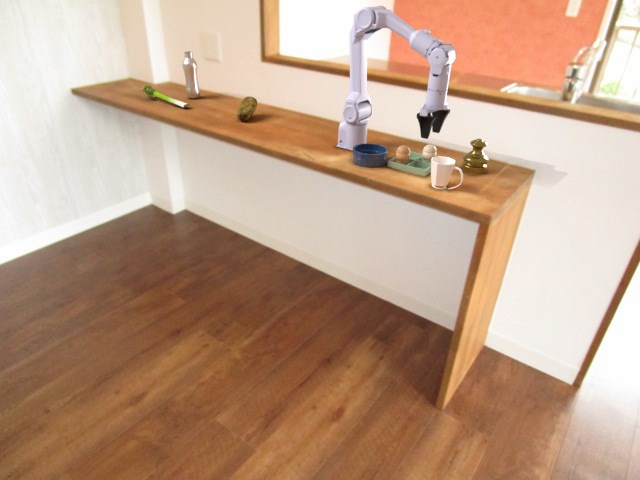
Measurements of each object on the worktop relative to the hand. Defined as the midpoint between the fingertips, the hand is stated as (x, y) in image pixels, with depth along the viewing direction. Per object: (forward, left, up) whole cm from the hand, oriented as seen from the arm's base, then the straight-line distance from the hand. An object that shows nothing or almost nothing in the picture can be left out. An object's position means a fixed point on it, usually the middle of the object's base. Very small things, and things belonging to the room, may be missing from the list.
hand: (430, 135), depth 140 cm
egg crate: (-3, -2, -10) cm, 11 cm away
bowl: (-16, -8, -10) cm, 20 cm away
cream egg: (0, +1, -10) cm, 10 cm away
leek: (-124, -2, -10) cm, 124 cm away
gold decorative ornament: (+13, +6, -10) cm, 18 cm away
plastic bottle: (-122, +12, -10) cm, 123 cm away
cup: (+11, -13, -10) cm, 20 cm away
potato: (-80, +3, -10) cm, 80 cm away
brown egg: (-6, -5, -10) cm, 13 cm away
